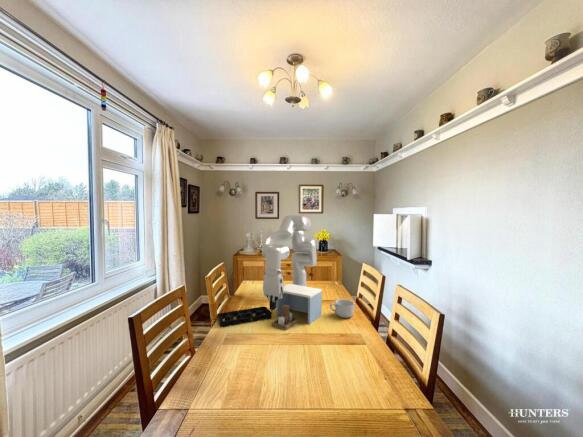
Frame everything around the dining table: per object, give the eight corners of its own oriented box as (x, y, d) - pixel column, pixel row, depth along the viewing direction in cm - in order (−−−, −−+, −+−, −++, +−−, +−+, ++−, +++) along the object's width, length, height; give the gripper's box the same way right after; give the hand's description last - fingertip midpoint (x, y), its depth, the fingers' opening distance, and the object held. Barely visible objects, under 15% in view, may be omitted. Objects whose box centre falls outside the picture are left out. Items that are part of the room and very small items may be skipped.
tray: (284, 318, 148) (284, 301, 148) (298, 322, 143) (298, 304, 143) (271, 326, 138) (271, 307, 137) (286, 330, 133) (286, 311, 133)
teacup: (352, 312, 156) (353, 299, 156) (355, 320, 146) (355, 305, 146) (329, 311, 158) (329, 298, 158) (330, 319, 147) (330, 304, 147)
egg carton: (212, 321, 145) (212, 314, 145) (260, 309, 163) (260, 303, 163) (225, 332, 131) (225, 325, 131) (275, 318, 149) (275, 311, 149)
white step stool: (289, 307, 164) (289, 283, 163) (321, 315, 152) (321, 289, 152) (276, 315, 152) (276, 289, 151) (309, 324, 140) (310, 295, 140)
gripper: (290, 272, 129) (289, 309, 129) (265, 268, 137) (265, 304, 137) (281, 275, 123) (281, 314, 123) (256, 271, 131) (256, 308, 131)
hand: (272, 309), depth 130 cm, fingers closed
